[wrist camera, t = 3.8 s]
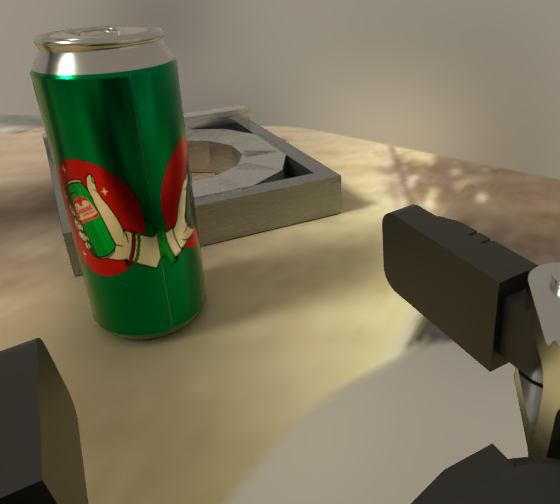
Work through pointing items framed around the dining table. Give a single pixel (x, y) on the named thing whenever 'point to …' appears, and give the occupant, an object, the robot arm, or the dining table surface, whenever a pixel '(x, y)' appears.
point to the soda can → (123, 173)
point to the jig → (240, 180)
